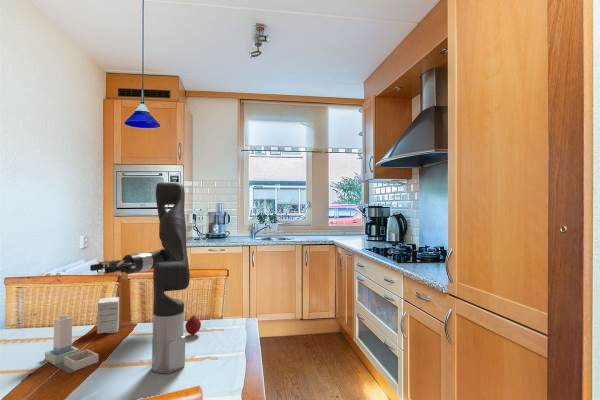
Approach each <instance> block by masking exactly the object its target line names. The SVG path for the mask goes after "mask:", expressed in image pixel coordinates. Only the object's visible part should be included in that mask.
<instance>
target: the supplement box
mask: <svg viewBox="0 0 600 400" xmlns="http://www.w3.org/2000/svg"><path fill="white" fill-rule="evenodd" d="M96 316H97V317H96V318H97V319H96V320H97V322H96V324H97V326H96V327H97V328H96V334H103V333H104V334H105V333H107V334H116V333H118V332H119V325H120V324H119V323H120V322H119V321H120V296H114V297H104V298H102V297H101V298H99V299H98V302H97V315H96Z"/></svg>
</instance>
